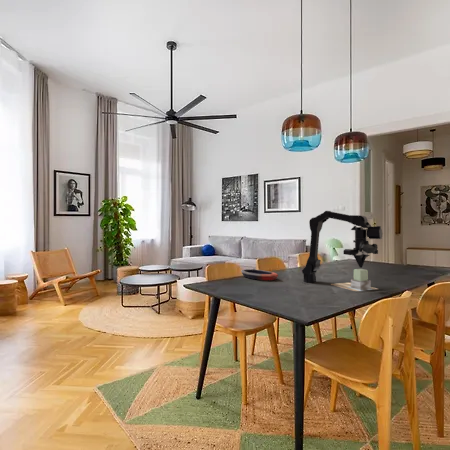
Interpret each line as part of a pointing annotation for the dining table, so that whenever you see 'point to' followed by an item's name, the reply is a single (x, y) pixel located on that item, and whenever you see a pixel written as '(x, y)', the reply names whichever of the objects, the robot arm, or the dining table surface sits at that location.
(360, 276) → the sage block
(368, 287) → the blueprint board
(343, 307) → the dining table surface
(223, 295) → the dining table surface
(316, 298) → the dining table surface
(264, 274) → the dish
